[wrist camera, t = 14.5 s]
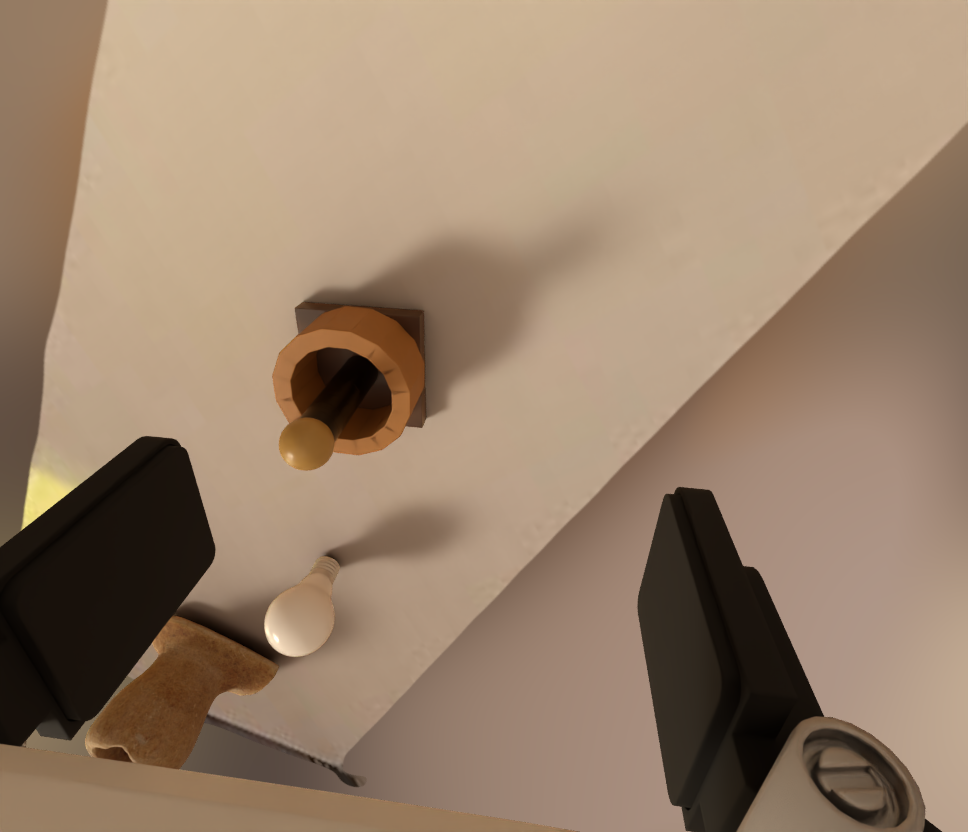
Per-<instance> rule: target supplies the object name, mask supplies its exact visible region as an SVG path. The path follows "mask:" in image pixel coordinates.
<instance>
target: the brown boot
mask: <svg viewBox="0 0 968 832" xmlns="http://www.w3.org/2000/svg"><path fill="white" fill-rule="evenodd" d="M153 645H154V648H155V650H156V651H157V653H158V654H159V656H158V658H157V659H156V660H155V662H154V663H153V664H152V665H151V666H150V667H149V668H148V669H147V670H146V671H145V672H144V673H143V674H142V675H140V676H139V677H137V678H136V679H135V680H133V681H132V682H131V683H130V684H129V685H127V686H126V687H125V688H124V689H122V690H121V691H120V692H119V693H118V694H117V695H116V696H115V697H114V698H113V699H112V700H111V701H110V703H109V704H108V705H107V706H106V708H105V709H104V710H103V711H102V712H101V714H100V715H99V716H98V717H97V718H96V720H95V721H94V723H93V724H92V725H91V727H90V729H89V731H88V732H87V735H86V739H85V745H86V748H87V750H88V752H89V753H90V755H91V756H92V757H95V758H102V759H109V760H116V761H123V762H130V763H137V764H144V765H151V766H158V767H165V768H172V769H178V770H179V769H180V767H181V766H182V765H183V764H184V762H185V761H186V759H187V758H188V756H189V755H190V753H191V752H192V749H193V747H194V745H195V743H196V741H197V738H198V736H199V734H200V731H201V729H202V726H203V724H204V721H205V718H206V716H207V713H208V711H209V709H210V706H211V704H212V703H213V701H214V699H215V698H216V697H217V696H218V695H219V694H221V693H223V692H226V691H228V692H232V693H235V694H238V695H242V696H244V695H246V694H248V695H251V694H255V693H257V692H258V691H260V690H262V689H263V688H264V687H265V686H266V685H267V684H268V683H269V682H270V681H271V680H272V679H273V678H274V676H275V675H276V672H277V670H278V668H279V666H278V665H277V664H275V663H274V662H272V661H270V660H268V659H266V658H265V657H263V656H261V655H259V654H257V653H255V652H254V651H252V650H250V649H248V648H247V647H245V646H243V645H241V644H239V643H237V642H235V641H233V640H231V639H229V638H227V637H225V636H223V635H221V634H219V633H216V632H214V631H212V630H210V629H208V628H206V627H204V626H202V625H199V624H197V623H194V622H192V621H190V620H187V619H185V618H182V617H178V616H172V617H171V618H170V620H169V621H168V622H167V623H166V625H165V626H164V627H163V629H162V630H161V631H160V633H159V634H158V635H157V637H156V638H155V639H154V641H153Z"/></svg>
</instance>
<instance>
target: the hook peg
mask: <svg viewBox="0 0 968 832" xmlns="http://www.w3.org/2000/svg"><path fill="white" fill-rule="evenodd" d="M377 377H378V370H377V367H376V366H375V365H374V364H373V363H372V362H371V361H370V360H369V359H367V358H365V357H363V356H360V355H357V356H353V357H351V358H349V359H348V360H347V361H346V363H345V364H344V365H343V366H342V367H341V369H340V370H339V371H338V372H337V373H336V375H335V376H334V377H333V378H332V379H331V381H330V382H329V383H328V384H327V386H326V387H325V388H324V389H323V390H322V392H321V393H320V394H319V395H318V396H317V398H316V399H315V400H314V401H313V402H312V404H311V405H310V406H309V407H308V408H307V410H306V411H305V412H304V413H303V414H302V416H301V417H300V418H299V419H297V420H294V421H293V422H291V423H290V424H288V425H287V426H286V427H285V428H284V430H283V431H282V433H281V436H280V439H279V450H280V453H281V456H282V457H283V459H284V460H285V461H286V463H288V464H289V465H290V466H292V467H294V468H296V469H299V470H314V469H317V468H319V467H321V466H323V465H324V464H325V463H326V462H327V461H328V460H329V459H330V457H331V456H332V454H333V451H334V445H335V441H336V440H337V438H338V437H339V435H340V434H341V432H342V431H343V429H344V428H345V426H346V425H347V423H348V422H349V420H350V419H351V417H352V416H353V414H354V413H355V411H356V410H357V408H358V407H359V405H360V404H361V402H362V401H363V399H364V398H365V396H366V395H367V393H368V392H369V390H370V389H371V387H372V386H373V384H374V383H375V381H376V379H377Z"/></svg>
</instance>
